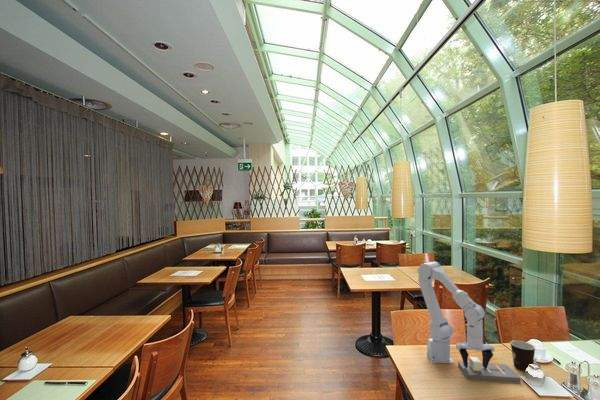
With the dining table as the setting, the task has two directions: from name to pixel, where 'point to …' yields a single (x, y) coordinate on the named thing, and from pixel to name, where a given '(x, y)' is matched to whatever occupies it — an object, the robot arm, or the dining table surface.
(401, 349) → the dining table surface
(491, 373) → the slider panel
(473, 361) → the slider knob
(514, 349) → the coffee mug
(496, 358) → the dining table surface
